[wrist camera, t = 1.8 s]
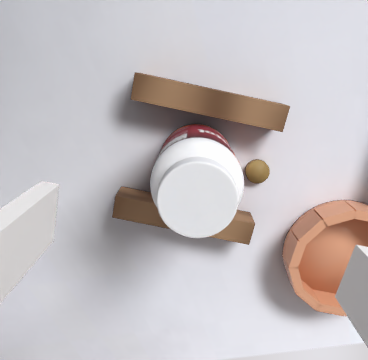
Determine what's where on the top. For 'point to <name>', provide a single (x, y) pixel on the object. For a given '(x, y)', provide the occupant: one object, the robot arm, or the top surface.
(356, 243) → the terracotta round dish
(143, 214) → the cradle
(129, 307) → the top surface
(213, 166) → the pill bottle
